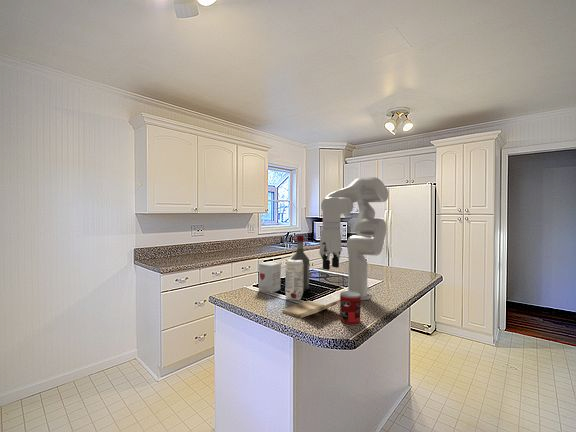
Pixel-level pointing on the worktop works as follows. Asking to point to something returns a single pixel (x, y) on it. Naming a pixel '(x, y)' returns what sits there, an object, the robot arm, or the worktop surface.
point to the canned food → (350, 307)
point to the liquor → (304, 258)
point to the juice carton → (294, 279)
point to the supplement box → (269, 277)
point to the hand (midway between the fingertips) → (330, 267)
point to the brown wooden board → (302, 308)
